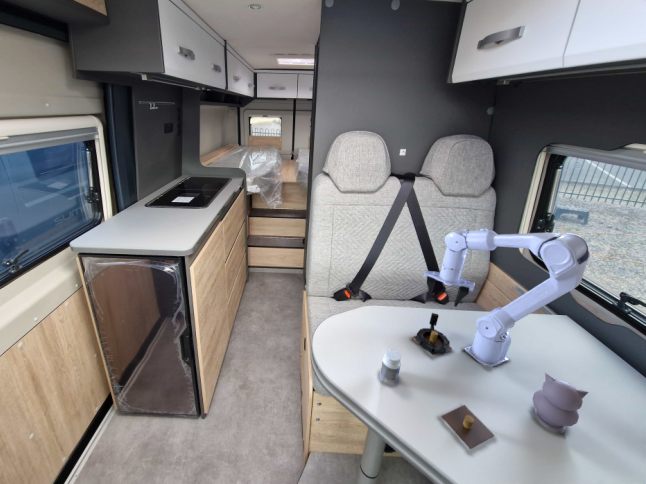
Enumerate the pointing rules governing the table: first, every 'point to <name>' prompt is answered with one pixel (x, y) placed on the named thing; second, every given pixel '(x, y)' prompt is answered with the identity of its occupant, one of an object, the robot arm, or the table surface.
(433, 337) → the tall peg stand
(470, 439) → the short peg stand
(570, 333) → the table surface
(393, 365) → the pill bottle
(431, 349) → the hanger ring
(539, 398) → the cat figurine
